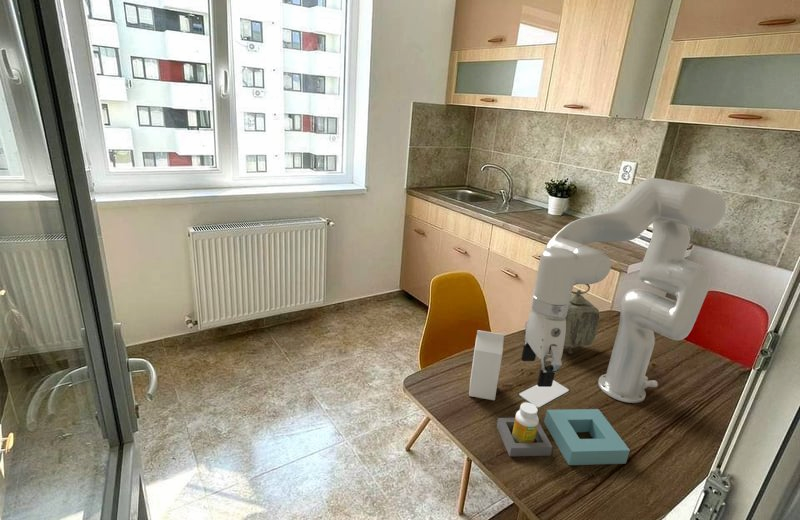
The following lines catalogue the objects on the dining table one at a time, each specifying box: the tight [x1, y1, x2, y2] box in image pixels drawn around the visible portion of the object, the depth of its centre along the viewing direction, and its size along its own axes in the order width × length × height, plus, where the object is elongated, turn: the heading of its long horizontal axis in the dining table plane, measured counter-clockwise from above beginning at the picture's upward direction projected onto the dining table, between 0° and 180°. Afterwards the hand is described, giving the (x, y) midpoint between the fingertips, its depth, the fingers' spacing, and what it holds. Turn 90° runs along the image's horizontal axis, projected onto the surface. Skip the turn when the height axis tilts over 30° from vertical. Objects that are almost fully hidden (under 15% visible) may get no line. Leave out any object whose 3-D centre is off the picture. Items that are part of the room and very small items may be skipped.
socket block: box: [543, 408, 631, 466], centre depth 106 cm, size 14×14×4 cm
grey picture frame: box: [496, 417, 553, 457], centre depth 106 cm, size 10×10×2 cm
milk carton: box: [468, 329, 505, 401], centre depth 120 cm, size 7×7×19 cm
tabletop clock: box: [564, 284, 600, 355], centre depth 142 cm, size 14×9×25 cm, turn 98°
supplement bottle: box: [511, 402, 540, 443], centre depth 105 cm, size 5×5×10 cm
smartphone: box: [517, 379, 570, 409], centre depth 125 cm, size 7×1×15 cm
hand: (535, 372), depth 99 cm, fingers open, 9 cm apart
